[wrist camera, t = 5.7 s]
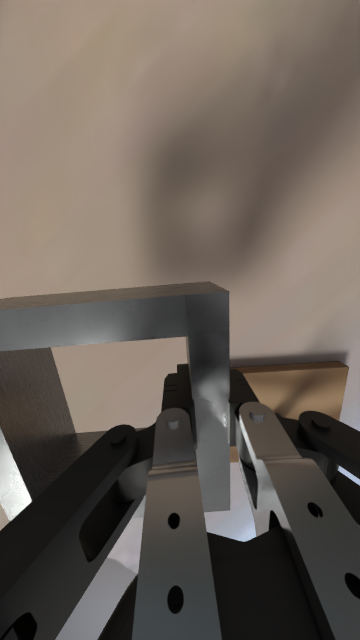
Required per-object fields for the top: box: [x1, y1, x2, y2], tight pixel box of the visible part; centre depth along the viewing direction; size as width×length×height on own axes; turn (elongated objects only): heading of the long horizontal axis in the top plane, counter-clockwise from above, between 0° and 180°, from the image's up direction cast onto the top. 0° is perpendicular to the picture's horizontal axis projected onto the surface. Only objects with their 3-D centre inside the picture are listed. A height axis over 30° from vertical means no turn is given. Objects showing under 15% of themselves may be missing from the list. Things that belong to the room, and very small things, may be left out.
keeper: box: [230, 361, 349, 463], centre depth 20 cm, size 14×15×12 cm
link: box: [0, 282, 230, 521], centre depth 10 cm, size 11×11×4 cm
